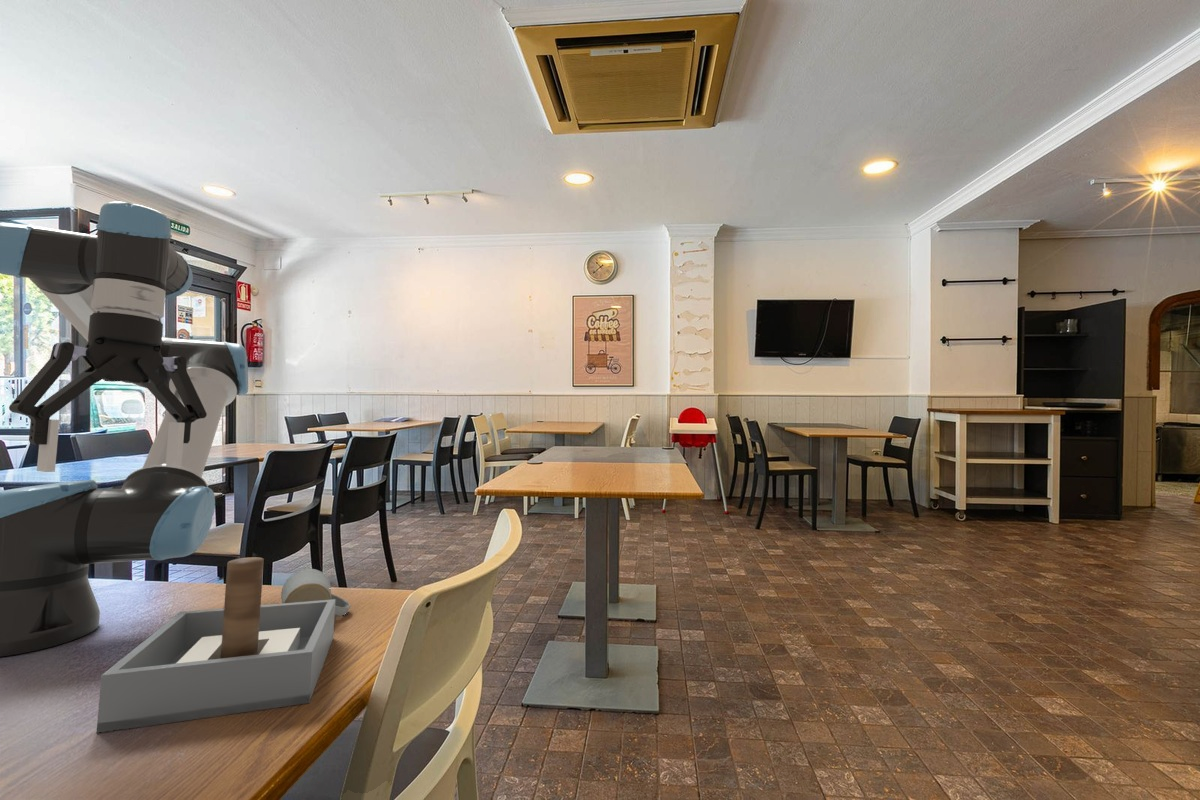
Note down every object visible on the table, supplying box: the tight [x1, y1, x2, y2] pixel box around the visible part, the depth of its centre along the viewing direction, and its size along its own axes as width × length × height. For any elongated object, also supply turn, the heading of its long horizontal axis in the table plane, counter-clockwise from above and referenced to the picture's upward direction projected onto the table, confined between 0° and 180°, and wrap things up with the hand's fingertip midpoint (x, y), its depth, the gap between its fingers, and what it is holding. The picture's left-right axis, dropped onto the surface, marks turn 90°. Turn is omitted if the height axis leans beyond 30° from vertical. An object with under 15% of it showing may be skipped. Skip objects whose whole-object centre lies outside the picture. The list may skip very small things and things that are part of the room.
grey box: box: [96, 599, 336, 734], centre depth 67 cm, size 20×20×6 cm
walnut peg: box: [221, 556, 265, 659], centre depth 67 cm, size 4×4×14 cm
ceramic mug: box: [280, 568, 351, 617], centre depth 88 cm, size 11×8×8 cm
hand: (115, 468), depth 70 cm, fingers open, 13 cm apart
